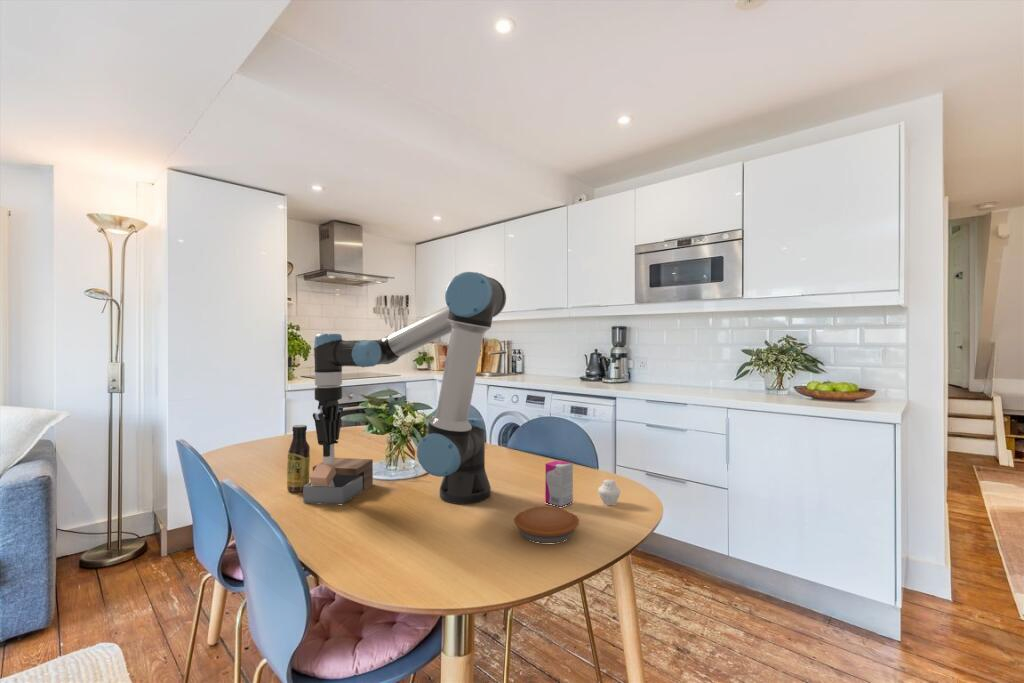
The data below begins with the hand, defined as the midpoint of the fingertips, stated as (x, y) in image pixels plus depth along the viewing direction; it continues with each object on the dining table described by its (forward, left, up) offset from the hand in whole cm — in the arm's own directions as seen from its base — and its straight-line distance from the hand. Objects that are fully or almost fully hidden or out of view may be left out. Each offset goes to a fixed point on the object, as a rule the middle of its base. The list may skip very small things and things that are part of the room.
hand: (328, 466), depth 138 cm
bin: (-1, -1, -9) cm, 9 cm away
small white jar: (-81, -7, -9) cm, 82 cm away
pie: (-65, +16, -10) cm, 68 cm away
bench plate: (0, -8, -9) cm, 13 cm away
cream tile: (+1, +1, -5) cm, 5 cm away
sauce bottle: (+13, -6, -9) cm, 17 cm away
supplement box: (-67, -5, -9) cm, 68 cm away
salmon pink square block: (0, +2, -3) cm, 4 cm away
